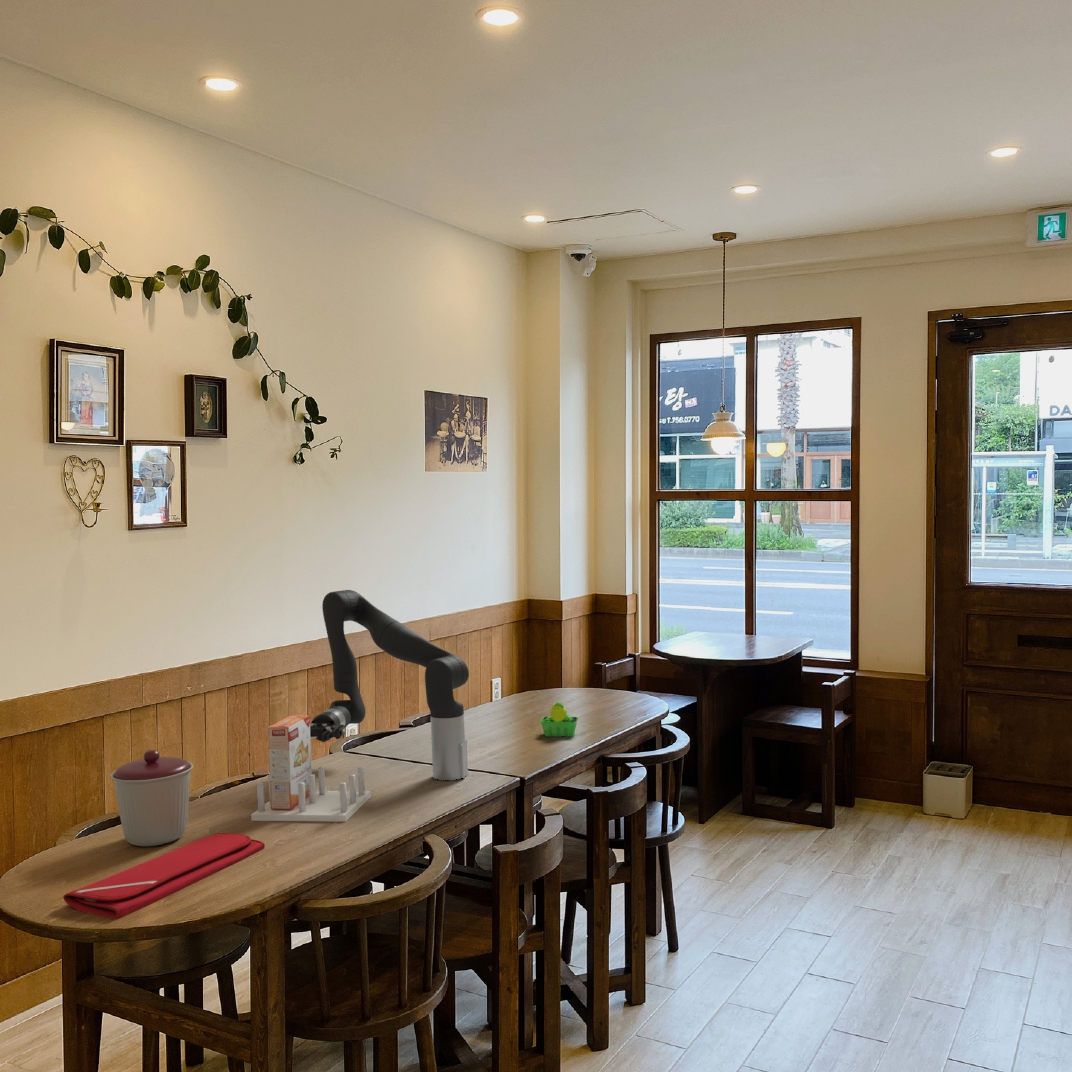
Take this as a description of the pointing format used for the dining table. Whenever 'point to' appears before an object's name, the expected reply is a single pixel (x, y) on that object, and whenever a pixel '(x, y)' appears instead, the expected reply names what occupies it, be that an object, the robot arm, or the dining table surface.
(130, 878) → the dish drying mat
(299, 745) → the cracker box
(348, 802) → the dish rack
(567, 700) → the dining table surface
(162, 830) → the canister
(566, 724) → the fruit basket
